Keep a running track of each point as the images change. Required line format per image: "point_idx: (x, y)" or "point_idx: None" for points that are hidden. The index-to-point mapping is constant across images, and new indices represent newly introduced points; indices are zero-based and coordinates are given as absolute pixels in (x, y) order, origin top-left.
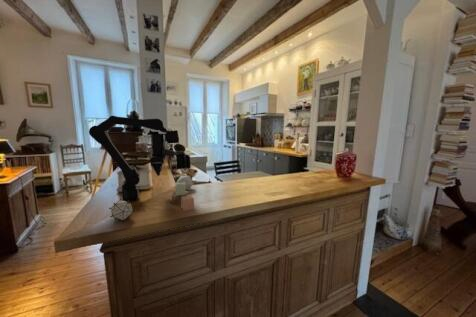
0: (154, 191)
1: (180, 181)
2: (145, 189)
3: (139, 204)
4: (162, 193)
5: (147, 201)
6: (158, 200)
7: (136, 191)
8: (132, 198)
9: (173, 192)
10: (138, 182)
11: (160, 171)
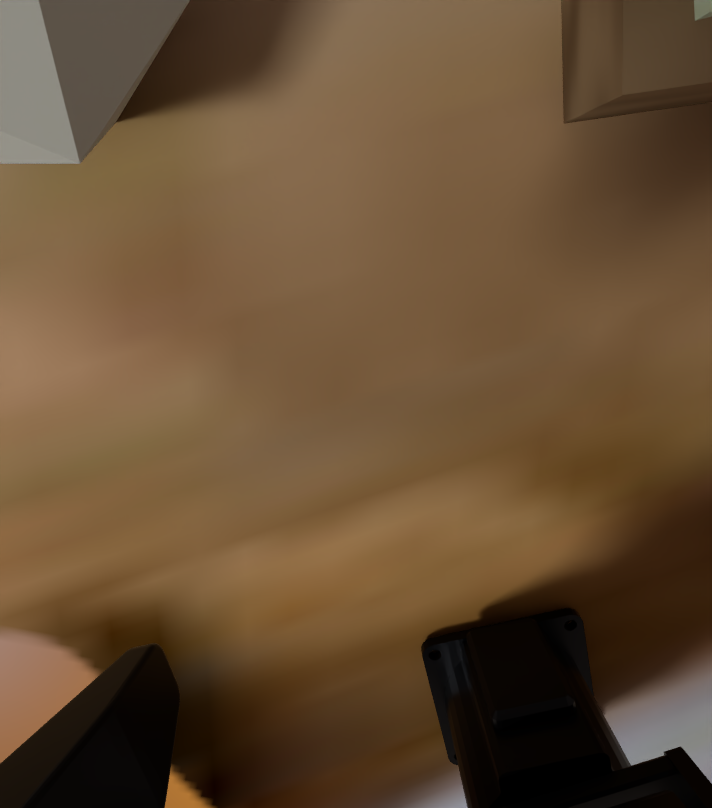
0: (202, 527)
1: (85, 16)
2: None
3: (705, 523)
4: (293, 384)
5: (616, 472)
6: (601, 343)
7: (572, 695)
8: (571, 662)
9: (668, 80)
10: (680, 802)
11: (163, 658)
